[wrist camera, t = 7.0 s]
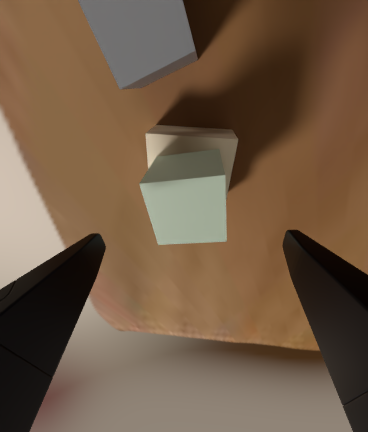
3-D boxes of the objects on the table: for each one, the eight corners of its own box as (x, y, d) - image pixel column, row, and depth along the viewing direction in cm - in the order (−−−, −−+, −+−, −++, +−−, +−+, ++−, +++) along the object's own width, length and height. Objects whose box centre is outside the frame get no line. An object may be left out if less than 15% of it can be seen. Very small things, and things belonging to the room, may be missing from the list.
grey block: (173, -37, 12) (156, -100, 8) (198, 59, 14) (195, 50, 10) (108, 7, 13) (65, -27, 9) (141, 87, 16) (120, 89, 12)
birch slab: (231, 129, 17) (238, 139, 14) (219, 195, 21) (222, 215, 18) (156, 124, 17) (145, 133, 14) (159, 190, 21) (151, 209, 18)
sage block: (219, 148, 14) (225, 175, 10) (221, 203, 17) (226, 241, 13) (156, 156, 15) (139, 183, 11) (168, 208, 18) (158, 244, 14)
